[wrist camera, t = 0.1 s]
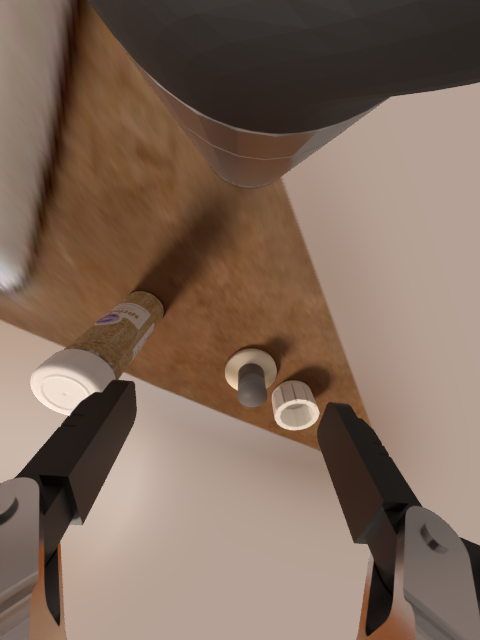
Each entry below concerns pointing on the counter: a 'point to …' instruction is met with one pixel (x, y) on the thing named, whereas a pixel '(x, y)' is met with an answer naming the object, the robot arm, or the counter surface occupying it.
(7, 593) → the robot arm
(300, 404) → the bowl
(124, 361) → the sprinkles bottle
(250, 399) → the lid
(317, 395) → the counter surface
